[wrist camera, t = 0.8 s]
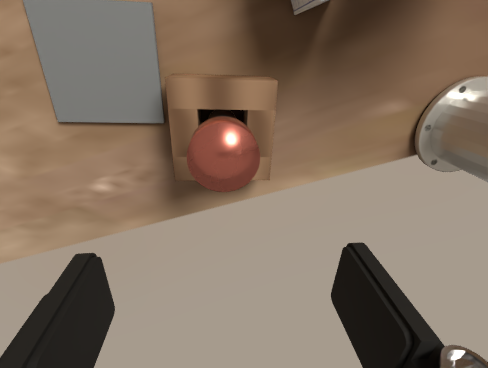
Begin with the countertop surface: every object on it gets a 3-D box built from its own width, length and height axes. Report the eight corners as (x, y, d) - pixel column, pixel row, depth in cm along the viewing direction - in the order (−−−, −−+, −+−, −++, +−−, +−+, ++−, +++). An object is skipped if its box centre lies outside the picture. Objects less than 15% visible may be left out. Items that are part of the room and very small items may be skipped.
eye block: (269, 76, 30) (278, 80, 26) (263, 163, 35) (269, 180, 31) (173, 73, 29) (165, 77, 25) (180, 163, 34) (174, 180, 30)
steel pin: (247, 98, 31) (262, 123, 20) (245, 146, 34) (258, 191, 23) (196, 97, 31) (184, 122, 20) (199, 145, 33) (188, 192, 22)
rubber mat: (152, 3, 26) (151, 2, 26) (164, 122, 32) (163, 123, 31) (25, -4, 25) (21, -5, 25) (60, 120, 31) (58, 121, 30)
